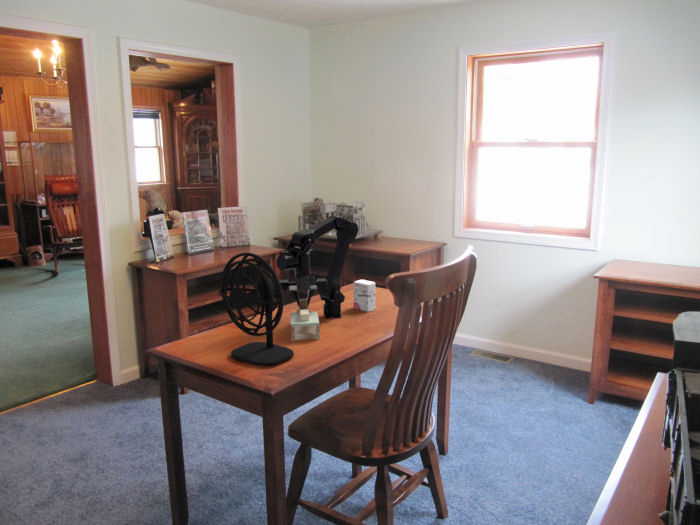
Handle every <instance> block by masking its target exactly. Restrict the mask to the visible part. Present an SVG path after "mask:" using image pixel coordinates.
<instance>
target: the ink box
mask: <svg viewBox="0 0 700 525" xmlns="http://www.w3.org/2000/svg"><path fill="white" fill-rule="evenodd" d="M353 309H354V310H359V311H364V312H368V313H369V312H372V311H376V282H375V281H371V280H366V279H359V280H355V281H353Z"/></svg>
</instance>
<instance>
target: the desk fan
mask: <svg viewBox="0 0 700 525" xmlns="http://www.w3.org/2000/svg"><path fill="white" fill-rule="evenodd" d="M240 257H242V259H241V260H239V261H235V260H236V259H238V258H240ZM248 257H252V258H248ZM247 258H248V259H247ZM234 261H235V262H234ZM253 262H254V263H253ZM255 263H256V264H255ZM244 264H246V265H248V266H250V267H252V268H253V269H250V270H249V271H248V272H247V273H246V274H245V273H242V270H243V267H244ZM234 266H235V268H234V269H233V271H232V274H231V275H230V276H229V277H228V274H229V272H230V271H231V270H232V268H233V267H234ZM262 266H263V267H264V268H265V269H263V267H262ZM223 268H224V269H223V271H222V274H221V281H220V288H219V289H218V292H217V293H218V295H219V296H220V297H221V299H222V302H223V306H224V308H225V311H226V313H227V315H228V317H229V318H230V320H231V321H232V322H233V324H234V325H235V326H236V327H237V328H238V330H241V332H243V333H245V334H247V335H249V336H251V337H263V336H265V339H266V341H253V342H249V343H246V344H243V345H240V346H239V347H236V348H234V349H232V350H231V351H230V356H231V357H232V358H233V359H235V360H237V361H240V362H244V363H246V364H247V363H248V364H250V365H253V366H258V367H271V366H272V367H273V366H276V365H280V364H282V363H284V362H286V361H289V360H290V359H292V358H293V357H294V355H295V353H294V352H295V351H294V350H293V349H292V348H290V347H286V346H284V345H283V346H282V345H279V344H275V343H274V330H275V329H276V328H277V327H278V325H279V323H280V322H281V319H282V317H283V316H282V315H283V313H284V306H285V304H284V302H285V301H284V300H285V298H284V292H283V290H282V287H281V284H280V281H279V280H280V279H279V277H278V275H277V273H276V272H275V269H274V268H273V267H272V265H271V264H270V263H269V262H268V261H267V260H266V259H264V257H262V256H260V255H258V254H257V253H253V252H242V253H238V254H236V255H234V256H232V257H231V258H230V259H229V260H228V261H227V263H226V264H225V266H224V267H223ZM254 271H257V272H258V273H259V275H260V280H258V281H257V283H256V282H254V280H253V279H252V278H251V277H250V274H251V273H252V272H254ZM236 276H237V277H236ZM241 276H242V277H244V280H243V285H242V287H240V284H241V283H240V282H241ZM227 277H228V278H227ZM268 277H269V278H268ZM235 278H236V286H235ZM247 280H248V281H249V282H250V283H251V285H252V286H253V288H249V287H247V286H246V285H247ZM229 282H230V287H228V285H229ZM227 292H229V295H228V294H227ZM247 292H251V293H256V297H257V300H250V299H248V295H247ZM274 300H275V301H274ZM246 304H247V305H248V307H249V308H250V309H251V311H253V312H254V315H253V316H252V317H251V318H249V319H248V318H247V316H245V314H244V313H243V312H242V310H244V309H245V307H246ZM252 305H256V306H257V307H256V309H255V307H253V306H252ZM231 306H232V307H233V308H234V309H235V310H236V312H237V313H238V315H237V314H235V312H234V311H233V310H232V307H231ZM260 307H261V311H260ZM276 309H277V311H276V313H275V315H274V317H273V313H274V311H275V310H276ZM257 315H260V317H259V321H258V324H257V323H255V322H253V320H255V318H256V317H257ZM264 316H265V321H264V322H263V319H264ZM245 323H247V324H248V325H250V326H252V327H249V326H246V325H245ZM263 328H265V331H264V332H259V331H260V330H261V329H263Z"/></svg>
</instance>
